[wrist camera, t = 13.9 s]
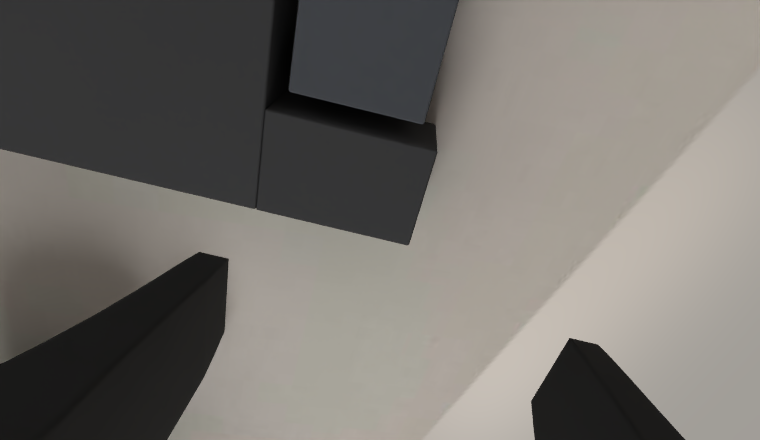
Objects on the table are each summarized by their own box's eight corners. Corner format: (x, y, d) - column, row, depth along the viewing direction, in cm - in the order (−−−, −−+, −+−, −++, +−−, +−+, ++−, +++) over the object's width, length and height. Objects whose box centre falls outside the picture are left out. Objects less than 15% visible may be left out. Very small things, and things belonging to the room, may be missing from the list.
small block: (460, -31, 15) (467, -31, 12) (423, 101, 17) (424, 125, 15) (327, -65, 15) (306, -73, 12) (308, 73, 17) (287, 92, 14)
